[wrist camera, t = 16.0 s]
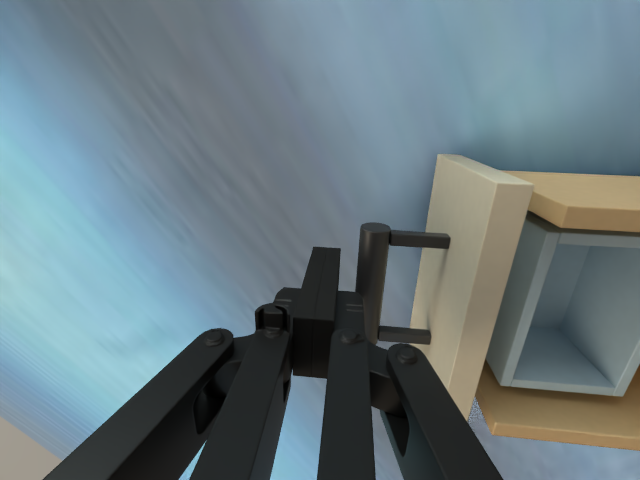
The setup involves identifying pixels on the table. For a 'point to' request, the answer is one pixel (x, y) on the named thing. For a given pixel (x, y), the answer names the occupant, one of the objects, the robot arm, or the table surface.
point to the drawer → (498, 292)
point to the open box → (569, 311)
